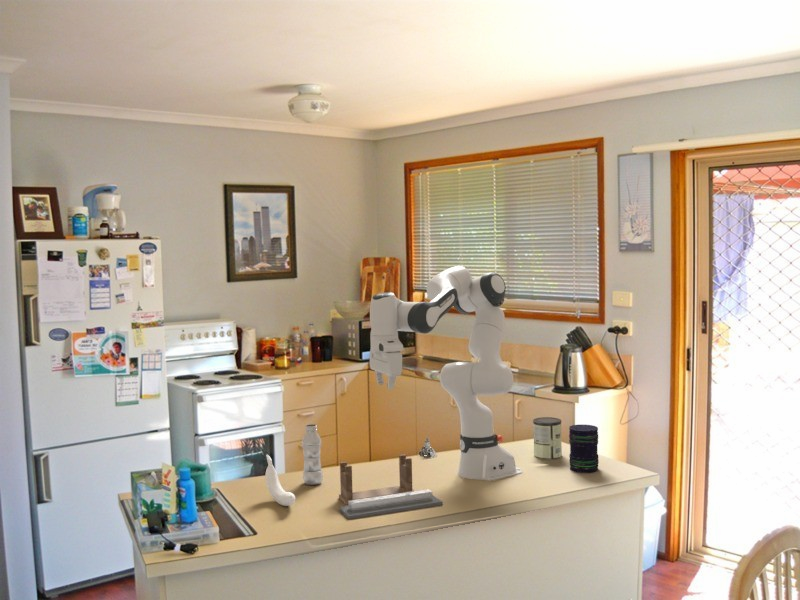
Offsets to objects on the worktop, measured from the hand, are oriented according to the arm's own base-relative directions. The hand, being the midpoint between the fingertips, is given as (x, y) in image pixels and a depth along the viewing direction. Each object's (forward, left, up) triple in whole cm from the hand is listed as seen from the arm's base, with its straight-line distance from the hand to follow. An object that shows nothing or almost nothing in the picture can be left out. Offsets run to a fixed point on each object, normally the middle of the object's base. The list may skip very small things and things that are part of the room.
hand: (385, 386), depth 254 cm
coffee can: (-68, -13, -34) cm, 77 cm away
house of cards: (-31, -34, -35) cm, 57 cm away
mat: (+5, +15, -34) cm, 38 cm away
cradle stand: (+5, +3, -34) cm, 35 cm away
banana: (+34, -2, -34) cm, 49 cm away
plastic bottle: (+20, -19, -34) cm, 44 cm away
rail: (+5, +15, -33) cm, 37 cm away
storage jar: (-70, +7, -34) cm, 78 cm away
